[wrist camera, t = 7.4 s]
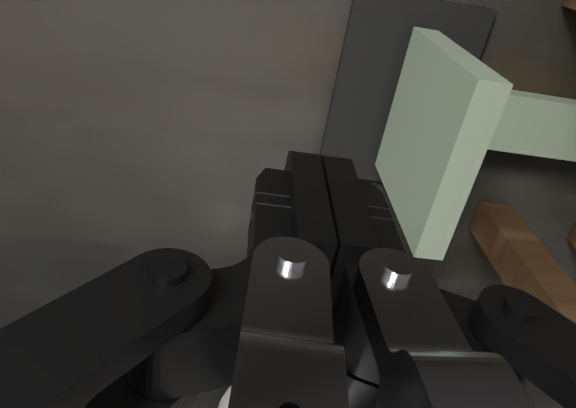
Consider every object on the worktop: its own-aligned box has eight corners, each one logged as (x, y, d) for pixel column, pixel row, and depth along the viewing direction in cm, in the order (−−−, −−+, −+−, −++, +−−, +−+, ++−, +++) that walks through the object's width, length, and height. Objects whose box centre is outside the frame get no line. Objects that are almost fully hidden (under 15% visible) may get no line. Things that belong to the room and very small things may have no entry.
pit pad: (355, -15, 19) (357, -14, 19) (492, 9, 20) (496, 11, 19) (316, 169, 23) (316, 173, 23) (430, 184, 24) (433, 188, 23)
